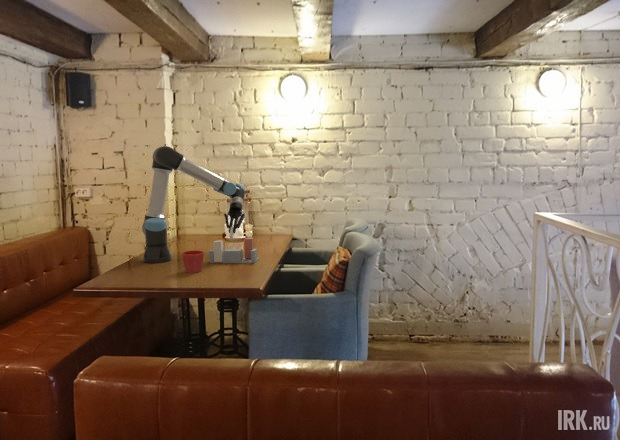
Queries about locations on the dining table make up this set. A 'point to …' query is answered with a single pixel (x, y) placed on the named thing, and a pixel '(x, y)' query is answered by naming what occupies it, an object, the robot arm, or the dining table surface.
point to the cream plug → (218, 251)
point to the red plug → (248, 247)
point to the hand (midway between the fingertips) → (231, 237)
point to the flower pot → (193, 261)
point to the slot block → (234, 256)
